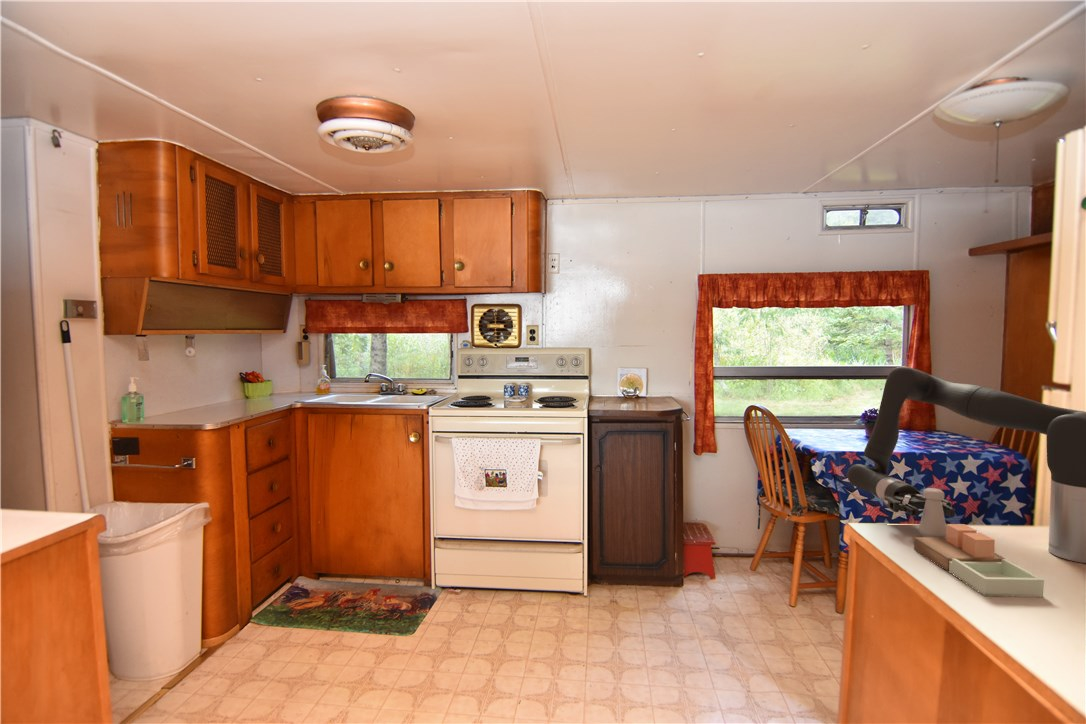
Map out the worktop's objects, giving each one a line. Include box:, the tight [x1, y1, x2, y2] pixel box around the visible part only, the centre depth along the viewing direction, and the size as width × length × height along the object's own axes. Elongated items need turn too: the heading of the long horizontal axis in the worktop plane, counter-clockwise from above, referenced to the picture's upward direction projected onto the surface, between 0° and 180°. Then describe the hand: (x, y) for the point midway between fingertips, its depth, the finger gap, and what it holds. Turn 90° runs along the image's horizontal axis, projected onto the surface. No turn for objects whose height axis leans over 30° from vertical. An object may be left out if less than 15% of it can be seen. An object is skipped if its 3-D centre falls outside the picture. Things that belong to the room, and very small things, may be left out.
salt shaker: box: [918, 487, 947, 537], centre depth 136 cm, size 6×6×13 cm
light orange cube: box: [946, 523, 978, 547], centre depth 126 cm, size 4×4×4 cm
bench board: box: [913, 536, 1006, 572], centre depth 124 cm, size 12×12×3 cm
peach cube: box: [962, 532, 996, 558], centre depth 121 cm, size 4×4×4 cm
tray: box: [948, 558, 1045, 598], centre depth 113 cm, size 11×10×4 cm
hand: (935, 513), depth 135 cm, fingers open, 8 cm apart
